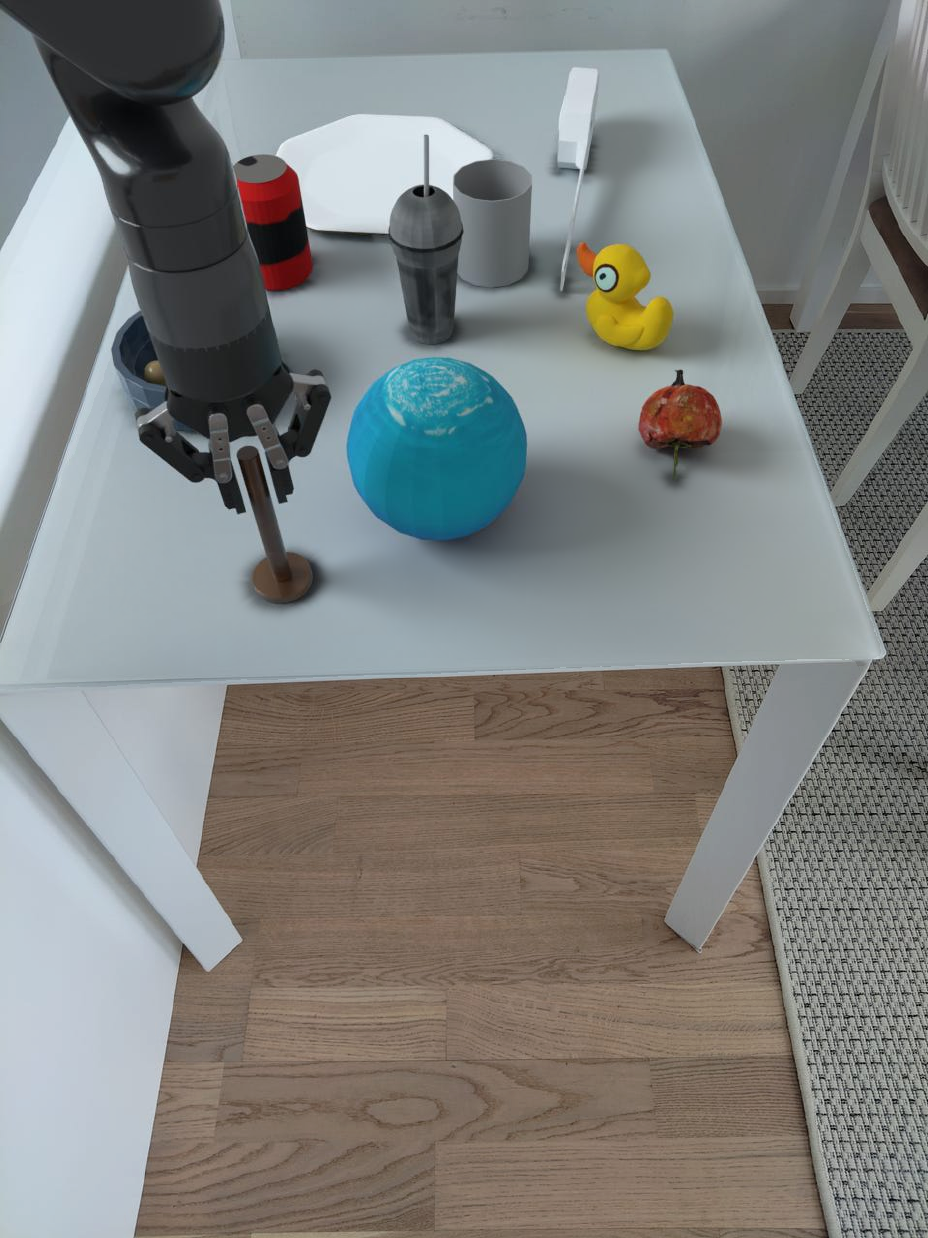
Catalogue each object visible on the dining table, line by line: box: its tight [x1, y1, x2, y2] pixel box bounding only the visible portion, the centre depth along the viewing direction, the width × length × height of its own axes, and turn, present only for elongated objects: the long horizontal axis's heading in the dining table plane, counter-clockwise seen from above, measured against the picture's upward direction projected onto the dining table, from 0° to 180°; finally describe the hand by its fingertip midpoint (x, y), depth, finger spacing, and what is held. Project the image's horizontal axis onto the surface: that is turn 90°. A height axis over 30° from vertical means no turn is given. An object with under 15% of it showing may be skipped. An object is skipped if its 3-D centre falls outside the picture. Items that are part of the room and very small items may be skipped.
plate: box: [275, 113, 494, 237], centre depth 115 cm, size 28×28×2 cm
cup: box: [453, 158, 533, 289], centre depth 100 cm, size 8×8×10 cm
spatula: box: [556, 66, 600, 292], centre depth 110 cm, size 38×8×4 cm
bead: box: [144, 360, 167, 386], centre depth 91 cm, size 3×3×3 cm
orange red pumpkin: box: [637, 368, 723, 481], centre depth 84 cm, size 7×7×10 cm
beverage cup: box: [388, 135, 464, 345], centre depth 90 cm, size 7×7×20 cm
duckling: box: [576, 241, 674, 351], centre depth 92 cm, size 11×5×10 cm, turn 51°
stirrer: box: [236, 445, 314, 604], centre depth 72 cm, size 5×5×15 cm
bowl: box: [110, 309, 283, 431], centre depth 91 cm, size 16×16×5 cm
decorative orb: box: [346, 356, 528, 541], centre depth 76 cm, size 15×15×15 cm
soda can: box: [233, 154, 314, 292], centre depth 99 cm, size 8×8×12 cm
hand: (260, 499), depth 70 cm, fingers closed
